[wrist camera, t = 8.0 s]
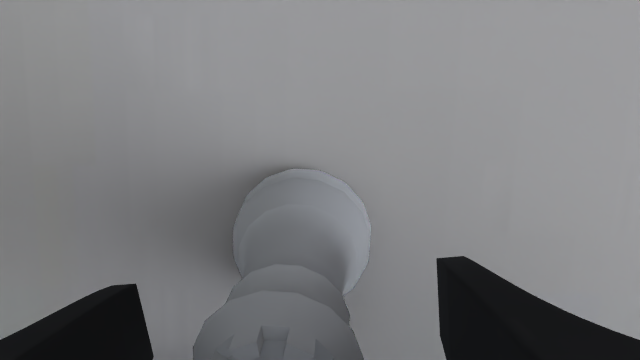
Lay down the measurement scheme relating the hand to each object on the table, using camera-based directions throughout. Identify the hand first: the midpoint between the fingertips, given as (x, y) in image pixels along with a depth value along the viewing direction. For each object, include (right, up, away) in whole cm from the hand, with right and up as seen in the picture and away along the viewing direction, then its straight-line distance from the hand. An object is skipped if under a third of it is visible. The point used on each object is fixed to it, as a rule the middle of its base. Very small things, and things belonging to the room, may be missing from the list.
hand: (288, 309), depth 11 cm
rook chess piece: (0, +1, +5) cm, 5 cm away
